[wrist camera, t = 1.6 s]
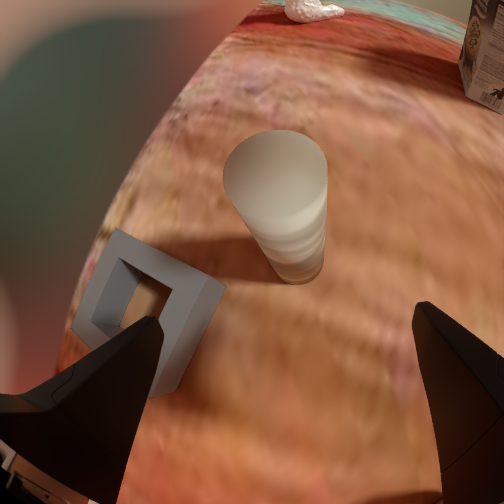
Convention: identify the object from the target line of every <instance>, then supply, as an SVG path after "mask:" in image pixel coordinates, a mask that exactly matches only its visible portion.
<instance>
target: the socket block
mask: <svg viewBox="0 0 504 504" xmlns="http://www.w3.org/2000/svg"><path fill="white" fill-rule="evenodd" d="M143 272H144V273H146V274H147V275H149V276H151V277H153V278H154V279H156V280H158V281H159V282H161V283H163V284H165V285H166V286H168V287H170V288H172V289H173V290H172V292H171V294H170V296H169V298H168V300H167V302H166V304H165V306H164V309H163V311H162V313H161V315H160V317H159V319H158V320H159V323H160V325H161V327H162V329H163V331H164V342H163V346H162V350H161V354H160V358H159V362H158V367H157V371H156V374H155V377H154V380H153V383H152V386H151V389H150V392H149V395H148V398H149V399H151V398H155V397H158V396H162V395H165V394H169V393H172V392H175V391H176V389H177V387H178V385H179V383H180V381H181V379H182V377H183V375H184V373H185V371H186V369H187V367H188V365H189V363H190V360H191V358H192V356H193V354H194V352H195V350H196V348H197V346H198V344H199V342H200V340H201V338H202V336H203V334H204V332H205V330H206V328H207V326H208V324H209V321H210V319H211V317H212V315H213V313H214V311H215V309H216V307H217V305H218V303H219V301H220V299H221V297H222V295H223V293H224V291H225V289H226V287H227V286H226V285H224V284H222V283H221V282H219V281H217V280H216V279H214V278H213V277H211V276H209V275H207V274H205V273H203V272H201V271H199V270H197V269H195V268H193V267H191V266H189V265H187V264H185V263H183V262H181V261H179V260H177V259H175V258H173V257H171V256H169V255H167V254H165V253H163V252H161V251H159V250H157V249H155V248H154V247H152V246H150V245H148V244H146V243H144V242H142V241H140V240H138V239H136V238H134V237H132V236H131V235H129V234H127V233H125V232H123V231H121V230H119V229H117V228H116V227H115V229H114V231H113V233H112V235H111V237H110V239H109V241H108V243H107V245H106V247H105V249H104V251H103V253H102V255H101V257H100V259H99V261H98V263H97V265H96V268H95V270H94V272H93V274H92V276H91V279H90V281H89V283H88V285H87V288H86V290H85V292H84V295H83V297H82V300H81V302H80V305H79V307H78V310H77V312H76V315H75V317H74V320H73V323H72V325H71V328H70V329H71V330H72V331H73V332H74V333H75V334H76V335H77V336H78V337H79V338H80V339H81V340H82V341H83V342H84V343H85V344H86V345H87V346H88V347H89V348H90V349H91V350H92V351H94V350H95V349H97V348H98V347H100V346H101V345H103V344H104V343H106V342H107V341H108V340H110V339H111V338H113V337H114V336H116V335H117V334H119V333H120V332H122V331H123V330H124V329H122V328H121V327H120V326H119V324H120V322H121V319H122V317H123V315H124V312H125V310H126V308H127V306H128V304H129V301H130V299H131V297H132V295H133V293H134V291H135V288H136V286H137V284H138V282H139V280H140V278H141V276H142V274H143Z"/></svg>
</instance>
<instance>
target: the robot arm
mask: <svg viewBox="0 0 504 504" xmlns="http://www.w3.org/2000/svg"><path fill="white" fill-rule="evenodd" d="M412 330H413V335H414V340H415V345H416V351H417V357H418V363H419V367H420V372H421V375H422V379H423V383H424V387H425V391H426V395H427V399H428V403H429V408H430V412H431V417H432V422H433V427H434V432H435V438H436V443H437V450H438V456H439V464H440V472H441V473H442V474H441V482H442V494H443V504H504V358H503V357H502V356H501V355H499V354H498V355H497V352H496V351H494V350H493V349H492V348H490V347H489V346H488V345H487V344H485V343H484V342H483V341H482V340H480V339H479V338H478V337H476V336H475V335H474V334H472V333H471V332H470V331H468V330H467V329H466V328H464V327H463V326H462V325H460V324H459V323H458V322H456V321H455V320H454V319H452V318H451V317H450V316H448V315H447V314H445V313H444V312H443V311H441V310H440V309H438V308H437V307H436V306H434V305H433V304H431V303H430V302H428V301H424V302H418V303H417V304H416V306H415V311H414V315H413V319H412ZM163 342H164V331H163V329H162V327H161V325H160V323H159V320H158V318H157V317H156V316H144V317H143V318H141V319H140V320H138V321H137V322H135V323H134V324H132V325H131V326H129V327H128V328H126V329H125V330H123V331H122V332H120V333H119V334H117V335H116V336H114V337H113V338H111V339H110V340H108V341H107V342H106V343H104V344H103V345H101V346H100V347H98V348H97V349H95V350H94V351H92V352H91V353H89V354H88V355H86V356H85V357H83V358H82V359H80V360H79V361H77V362H76V363H74V364H73V365H71V366H70V367H68V368H67V369H65V370H64V371H62V372H61V373H59V374H58V375H56V376H54V377H53V378H51V379H49V380H47V381H46V382H44V383H42V384H41V385H39V386H37V387H35V388H33V389H32V390H30V391H28V392H26V393H23V394H19V395H9V394H0V504H88V501H89V499H91V500H93V501H95V502H97V503H99V504H116V502H117V498H118V494H119V491H120V487H121V483H122V480H123V476H124V472H125V469H126V465H127V462H128V458H129V455H130V451H131V448H132V445H133V441H134V438H135V435H136V432H137V429H138V425H139V422H140V419H141V416H142V413H143V410H144V407H145V404H146V401H147V398H148V395H149V392H150V389H151V386H152V383H153V380H154V377H155V374H156V371H157V367H158V362H159V358H160V354H161V350H162V346H163Z"/></svg>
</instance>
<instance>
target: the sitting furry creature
mask: <svg viewBox="0 0 504 504" xmlns="http://www.w3.org/2000/svg"><path fill="white" fill-rule="evenodd" d="M284 10H285V14H286V15H287V17H288V18H289V19H291V20H293V21H296V22H300V23H310V22H315V21H321V20H326V19H332V18H338V17H341V16H343V15H344V10H343V9H342V8H340V7H338V6H335V5H333V4H330V5H326V6H322V5H321V3H320V1H319V0H286V4H285V8H284Z"/></svg>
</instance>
